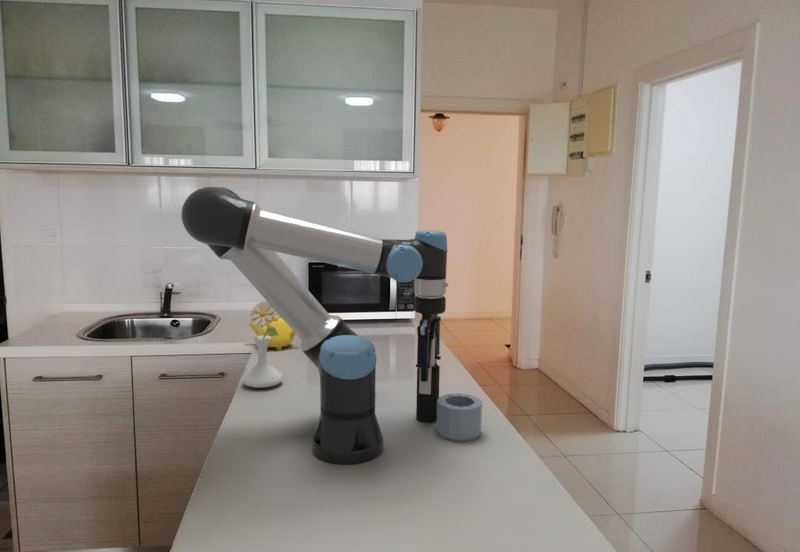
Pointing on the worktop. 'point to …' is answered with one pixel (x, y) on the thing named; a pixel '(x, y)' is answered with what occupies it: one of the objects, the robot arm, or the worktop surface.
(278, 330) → the teapot
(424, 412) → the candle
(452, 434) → the pale blue faceted cup
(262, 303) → the flower in vase
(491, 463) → the worktop surface
